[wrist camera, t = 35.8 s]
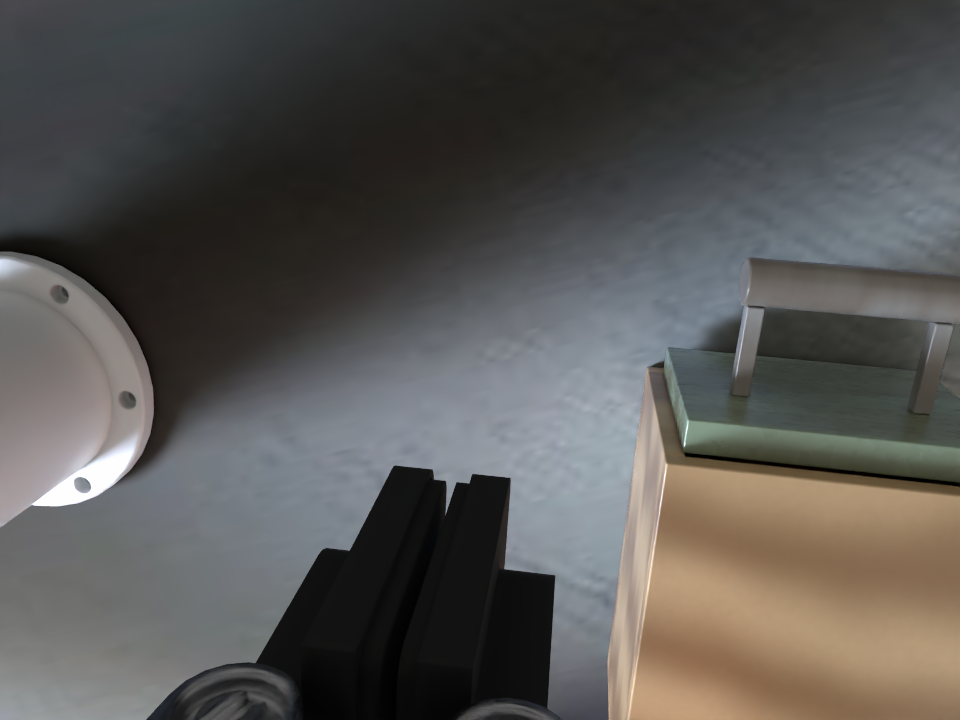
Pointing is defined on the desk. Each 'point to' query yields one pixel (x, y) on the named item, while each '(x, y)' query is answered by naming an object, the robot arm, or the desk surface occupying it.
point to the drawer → (826, 380)
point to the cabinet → (781, 590)
